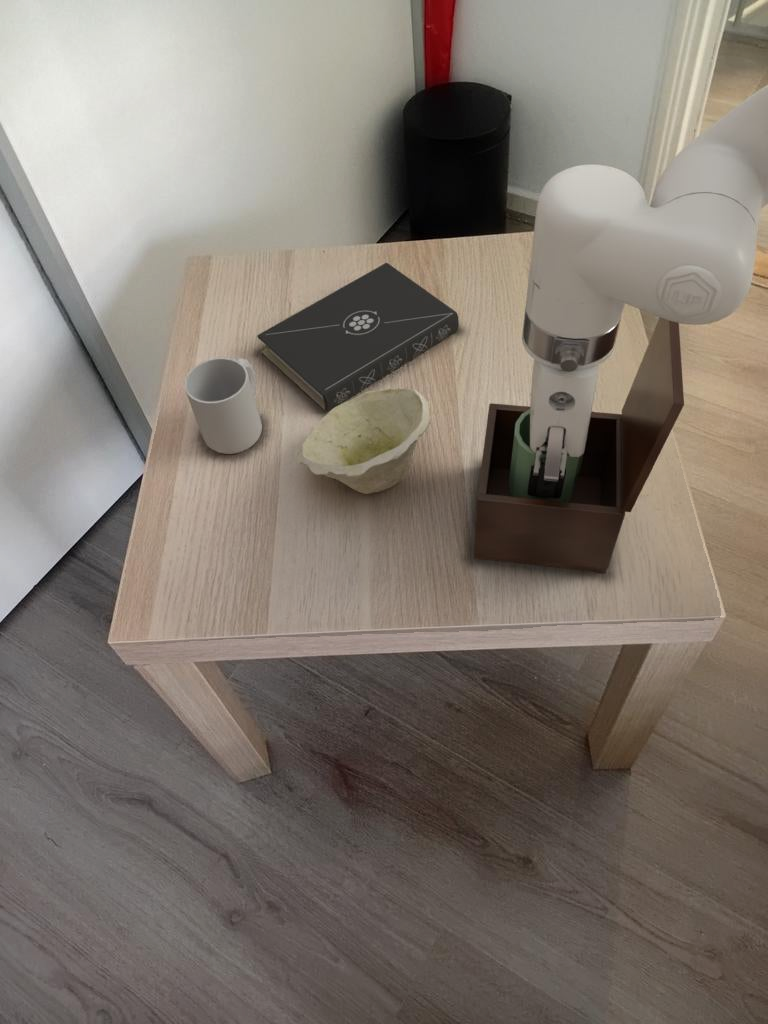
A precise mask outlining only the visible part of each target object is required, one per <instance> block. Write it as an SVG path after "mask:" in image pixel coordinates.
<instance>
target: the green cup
mask: <svg viewBox="0 0 768 1024" xmlns="http://www.w3.org/2000/svg"><path fill="white" fill-rule="evenodd" d="M546 442H548V437H547V438H546ZM586 442H587V438H586ZM563 443H564V440H563ZM585 446H586V444H585ZM583 455H584V453H583V454H582V455H581V456H580V457H570V455H569V454H568V452H567V459H566V466H565V469H566V476H565V481H564V485H563V490H562V495H561V497H560V498H558V499H556V498H541V497H537V496H529V495H528V494H527V491H528V484H529V477H530V471H531V465H532V466H533V465H534V463H535V456H536V453H534V452H533V451H532V450H531V448H530V409H529V410H527V411H526V412H524V413H522V414H521V416H520V417H519V419H518V420H517V422H516V423H515V432H514V440H513V449H512V458H511V466H510V475H509V490H510V493H511V495H512V497H519V498H529V499H539V500H549V501H559V502H570V500H571V499H572V497H573V494H574V492H575V489H576V485H577V480H578V476H579V472H580V467H581V463H582V459H583ZM545 461H546V452H542V457H541V463H545Z"/></svg>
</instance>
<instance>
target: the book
mask: <svg viewBox="0 0 768 1024" xmlns="http://www.w3.org/2000/svg"><path fill="white" fill-rule="evenodd" d="M459 326H460V321H459V315H458V312H457V311H456V310H454V309H453V308H451V307H450V306H449V305H447V304H446V303H444V302H443V301H441V300H440V299H439V298H437V297H436V296H434V295H433V294H432V293H430V292H429V291H428V290H426V289H425V288H423V287H422V286H421V285H419V284H418V283H416V282H415V281H414V280H412V279H411V278H410V277H408V276H407V275H406V274H404V273H402V272H401V271H399V270H398V269H397V268H395V267H394V266H392V265H391V264H390V263H388V262H385V263H383V264H381V265H380V266H378V267H376V268H374V269H372V270H371V271H368V272H367V273H365V274H364V275H362V276H360V277H358V278H356V279H355V280H352V281H351V282H349V283H347V284H346V285H344V286H342V287H340V288H339V289H337V290H335V291H333V292H331V293H329V294H327V295H326V296H325V297H323V298H321V299H319V300H318V301H316V302H313V303H312V304H310V305H308V306H307V307H305V308H303V309H301V310H300V311H297V312H296V313H294V314H293V315H290V316H289V317H287V318H285V319H284V320H282V321H280V322H278V323H276V324H275V325H272V327H268V328H267V329H266V330H264V331H262V332H261V333H258V334H257V335H256V337H257V338H258V340H260V342H262V343H263V344H264V345H265V346H266V348H264V349H262V350H261V351H260V353H261V354H262V355H263V356H264V357H265V358H266V359H267V360H268V361H269V362H271V364H273V365H274V366H275V367H276V368H277V369H278V370H279V371H280V372H281V373H282V374H284V375H285V376H286V377H287V378H288V379H289V380H290V381H291V382H292V383H293V384H294V385H295V386H297V387H298V388H299V389H300V390H301V391H302V392H303V393H304V394H305V395H307V397H308V398H310V399H311V400H312V401H313V402H314V403H315V404H316V405H317V406H318V407H320V408H321V409H322V410H323V411H324V412H326V413H329V411H331V410H332V409H333V408H335V407H336V406H338V405H340V404H342V403H345V402H347V401H349V400H351V399H352V398H354V396H356V395H358V394H359V393H361V392H362V391H364V390H366V389H368V388H369V387H371V386H373V385H374V384H375V383H377V382H378V381H380V380H382V379H384V378H385V377H387V376H389V374H391V373H393V372H395V371H396V370H398V369H399V368H401V367H402V366H404V365H406V364H407V363H409V362H410V361H412V360H413V359H415V358H417V357H418V356H420V355H422V354H424V353H425V352H426V351H428V350H429V349H431V348H433V347H434V346H436V345H437V344H439V343H441V342H442V341H444V340H446V339H447V338H450V336H452V335H454V334H455V333H457V332H458V330H459Z"/></svg>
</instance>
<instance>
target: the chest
mask: <svg viewBox="0 0 768 1024" xmlns="http://www.w3.org/2000/svg"><path fill="white" fill-rule="evenodd" d="M529 409H530V406H527V405H513V404H504V403H503V404H502V403H492V402H491V403H489V405H488V412H487V419H486V427H485V428H486V429H485V434H484V444H483V451H482V458H481V459H482V460H481V465H480V466H481V467H480V475H479V482H478V489H477V497H476V510H475V511H476V512H475V525H474V526H475V529H474V543H473V559H479V560H480V559H481V560H489V561H498V562H506V563H515V564H524V565H533V566H542V567H551V568H559V569H560V568H561V569H569V570H578V571H586V572H596V573H603V574H606V573H607V571H608V568H609V565H610V562H611V559H612V556H613V553H614V549H615V547H616V545H617V541H618V538H619V535H620V532H621V529H622V527H623V522H624V520H625V518H626V517H625V516H626V512H625V511H622V413H612V412H611V413H610V412H600V411H599V412H598V411H592V412H591V417H590V422H589V427H588V433H587V442H586V446H585V450H584V455H583V459H582V463H581V467H580V472H579V476H578V480H577V485H576V489H575V492H574V494H573V497H572V499H571V500H570V502H559V501H549V500H539V499H529V498H519V497H512V495H511V493H510V490H509V475H510V466H511V458H512V449H513V440H514V432H515V423H516V422H517V420H518V419H519V417H520V416H521V414H522V413H524V412H526V411H527V410H529Z"/></svg>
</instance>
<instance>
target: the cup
mask: <svg viewBox="0 0 768 1024" xmlns="http://www.w3.org/2000/svg"><path fill="white" fill-rule="evenodd" d="M256 376H257V375H256V372H255V369H254V367H253V365H252V363H250V361H248V360H247V359H246V358H237V359H235V358H231V357H213V358H209V359H206V360H203V361H201V362H199V363H198V364H196V365H195V366H193V367H192V368H191V369H190V370H189V371H188V373H187V374H186V376H185V378H184V382H183V386H184V391H185V394H186V396H187V399H188V402H189V404H190V407H191V410H192V413H193V415H194V419H195V421H196V423H197V426H198V429H199V431H200V434H201V436H202V439H203V441H204V443H205V444H206V445H207V447H208V448H210V450H212V451H214V452H216V453H219V454H225V455H234V454H240V453H242V452H245V451H247V450H249V449H250V448H252V446H254V445H255V444H256V442H258V440H259V439H260V436H261V434H262V429H263V424H262V419H261V415H260V412H259V408H258V403H257V401H256V397H255V396H256V392H257V377H256Z"/></svg>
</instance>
